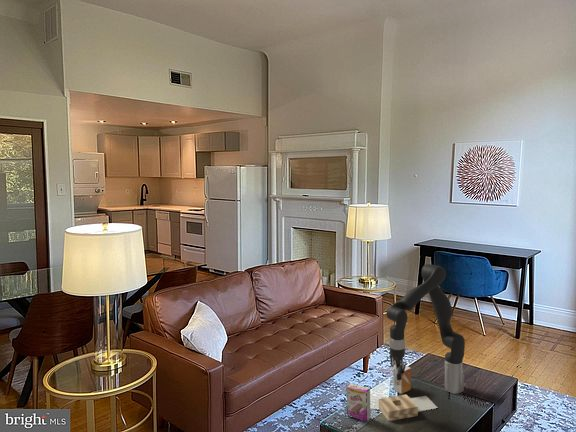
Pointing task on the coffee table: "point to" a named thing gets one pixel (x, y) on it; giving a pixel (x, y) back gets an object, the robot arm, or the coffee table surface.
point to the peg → (396, 382)
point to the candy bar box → (358, 402)
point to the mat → (424, 403)
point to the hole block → (398, 407)
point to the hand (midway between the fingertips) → (397, 378)
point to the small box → (403, 381)
